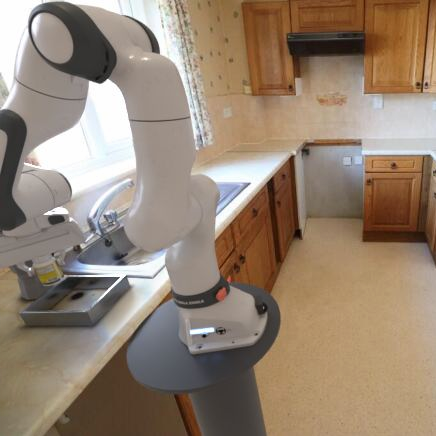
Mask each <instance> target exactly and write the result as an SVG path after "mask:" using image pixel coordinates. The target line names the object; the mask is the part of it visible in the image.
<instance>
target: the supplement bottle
mask: <svg viewBox="0 0 436 436" xmlns="http://www.w3.org/2000/svg"><path fill="white" fill-rule="evenodd" d="M56 259H57V258H56V257H55V256H54V257H52V254H48V255H44V256H41V257H38V258H35V259H32V262H33V268H34V269H35V271H36V273H37V275H38V277H39V279H40V281H41V282H42V284H43V285H44V286H51V285H55V284H57V283H59V282H61V281H62V280H63V279H64V278H65V275H64V273H63V270H62V269H61V266H60V267H59V265H58V263H57V260H56Z"/></svg>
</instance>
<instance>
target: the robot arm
mask: <svg viewBox="0 0 436 436" xmlns="http://www.w3.org/2000/svg"><path fill="white" fill-rule="evenodd" d="M13 67H14V68H13V78H12V83H11V87H10V89H9V90H10V91H9V93H8V95H7V98H6V99H5V101H4V103H3V104H2V106H1V108H0V270H2V269H5V268H9V266H12V265H17V267H18V268H19V269H22V270H24V271H26V272H27V273H28V275H29V276H30V277H31V276H34V275H36V274H37V273H36V271H35V269H34V268H33V267H31V268H29V267H27V266H26V265H25V261H28V260H32V259H35V258H38V257H41V256H44V255H48V254H51V253H54V254H55V253H57V252H58V254H59V257H58V258H56V260H57V263H58V265H59V267H60V268H61V267H63V266H66V265H67V264H66V261H65V257H66V255H67V252H66V250H67V249H70V248H72V247H76V246H79V245H83V244H85V243H86V241H87V236H86V235H85V233H84V231H83V229H82V228H81V226H80V224H79V222H77V221H76V220H75V218H74V217H71V214H70V212H69V211H68V210H67V209H66V208H65V207H63V206H64V205H66V204H67V203H69V202H70V201H71V199H72V196H73V189H72V186H71V185H72V184H71V183H70V181H69V180H68V178H67V177H66V176H65V175H64V174H63V173H61V172H60V171H59V170H56V169H54V168H51V167H41V166H36V165H32V164H30V163H26V160H27V158H28V156H30V154H31V153H32V152H33V151H34V150H35V149H36V148H38V147H39V146H40V145H42V144H44V143H45V142H47V141H49V140H51V139H52V138H55V137H57V136H59V135H61V134H63V133H65V132H67V131H69V130H72V129H73V128H74V127H76V126H77V125H79V123H80V122H81V120H82V118H83V117H84V114H85V112H86V108H87V105H88V99H89V92H90V85H91V84H90V83H91V82H92V83H94V84H98V85H102V84H104V83H105V82H107V81H108V82H110V83H111V84H112V85H114V86H115V87H116V88H117V89H118V91H119V93H120V95H121V98H122V101H123V106H124V110H125V114H126V118H127V123H128V127H129V132H130V136H131V140H132V146H133V151H134V157H135V180H134V181H135V182H134V189H133V195H132V198H131V202H130V205H129V208H128V210H127V211H126V212H125V215H124V217H123V221H122V225H123V227H122V228H123V230H124V233H125V236H126V237H127V239H128V240H129V241H130V243H132V244H133V245H134V246H135V247H137V249H138V248H139V249H140V250H142V251H145V252H149V253H159V252H162V251H164V250H165V249H167V250H166V252H165V256H164V265H165V268H166V272H167V274H168V278H169V282H170V285H171V286H170V291H171V295H172V298H173V300H174V303H175V304H176V305H177V308H178V314H179V338H180V340H181V341H182V342H183V343H184V344H185V345H187V346H188V349H189V352H190V353H191V354H201V353H207V352H214V351H220V350H227V349H233V348H240V347H246V346H252V345H254V344H255V343H256V342H257V341H258V340H259V339H260V338H261V336H262V334H263V333H264V330H265V328H266V324H267V319H268V314H267V309H268V306H267V304H266V303H264V302H262V296H261V295H258V296H254V298H253V296H252V295H250V294H248V293H245V292H243V291H241V290H239V289H237V288H234V287H232V286H230V285H229V283H230V282H231V280H232V278H231V275H228V277H227V279H226V278H225V277H224V275H223V274H222V273H221V272H220V268H219V264H218V258H217V254H216V253H217V252H216V220H217V219H216V218H217V209H218V206H219V202H220V199H221V191H220V188H219V185H218V184H217V182H215V180H214V179H212V178H211V177H210V176H208V175H205V174H202V173H193V174H192V170H193V166H194V163H195V161H196V158H197V148H196V142H195V135H194V134H195V133H194V127H193V122H192V115H191V109H190V104H189V101H188V96H187V93H186V89H185V88H186V87H185V86H184V82H183V79H182V77H181V74H180V71H179V69H178V66H177V65H176V64H175V62H173V61H172V60H171V59H170V58H168V57H167V56H165V55H164V54H163V55H162V54H161V49H160V44H159V41H158V39H157V37H156V35H155V33H154V32H153V30H151V29H150V27H149V26H148V25H147V24H145V23H144V22H142V21H140V20H138V19H137V18H134V17H132V16H130V15H127V14H126V15H125V14H121V13H117V12H114V11H111V10H108V9H105V8H102V7H99V6H93V5H87V4H76V3H72V2H68V1H63V0H62V1H61V0H60V1H56V0H55V1H47V2H43V3H40V4H38V5H36V6H35V7H33V9H32V10H31V12H30V13H29V16H28V20H27V25H26V26H25V28H24V29H23V31H22V34H21V37H20V39H19V42H18V46H17V49H16V54H15V59H14V66H13ZM256 335H257V336H256Z"/></svg>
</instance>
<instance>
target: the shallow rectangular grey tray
mask: <svg viewBox="0 0 436 436" xmlns="http://www.w3.org/2000/svg"><path fill="white" fill-rule="evenodd" d="M130 288H131V283H130V281H129V279H128V276H127V274H88V275H87V274H84V275H82V274H81V275H79V274H78V275H66V276H64V279H63V280H62V281H61V282H59V283H57V284H56V285H54V286H53V287H52V288H50V289H49V290H48V291H47V292H45V293H44V294H43V295H41V296H40V297H39V298H37V299H34V300H32V302H31V303H29V304H28V305H27V306H25V307H24V308H23V309H22V310H20V311H19V312H18V314H19V316H20V318H21V320H22V321H23V324H24V325H25V326H26V327H58V326H59V327H60V326H64V327H68V326H72V327H73V326H74V327H75V326H95V325H96V324H97V322H99V321H100V319H101V318H103V316H104V315H105V314H106V313H107V312H108V311H109V310H110V309H111V308H112V307H113V306H114V305H115V303H116V302H118V300H119V299H120V298H122V296H123V295H124V294H125V293H126V292H127V291H128V290H129V289H130ZM96 289H97V290H98V289H99V290H101V289H103V290H104V289H107V290H106V291H105V292H104V293H103V294H102V295H100V296H99V298H97V299H96V300H95V302H93V303H92V304H91V305H90V306H89V307H88V308H87V309H65V310H64V309H63V310H61V309H58V310H54V309H53V310H50V309H51V308H52V307H54V306H55V305H56V304H57V303H58V302H60V301H61V300H62V299H63V298H64V297H66V296H67V295H68V294H69V293H70V292H72V291H73V290H96ZM83 296H84V292H77V293H74V294H73V295H71V297H70V299H71V300H78V299H81V298H83Z"/></svg>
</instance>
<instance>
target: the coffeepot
mask: <svg viewBox="0 0 436 436" xmlns="http://www.w3.org/2000/svg"><path fill="white" fill-rule="evenodd" d="M51 254H52V257H55V252H54V253H51ZM25 265H26V266H27V267H29V268H31V267H33V262H32V260H28V261H25ZM8 269H9V270H10V271H11V272H12V273H13V274H15V275H16V277H17V283H18V286H19V291H20V295H21V298H23V299H25V300H27V301H35V300H36V299H37V298H39V297H40V296H41V295H43V294H44V293H45V292H47V291H48V290H49V289H50V288H52V287H53V286H54V285H51V286H44V285H43V284H42V282H41V281H40V279H39V277H38V275H37V274H36V275H34V276H31V277H30V276H29V275H28V273H27V272H26V271H24V270H22V269H19V268H18V267H17V265H12V266H9V267H8ZM55 285H56V284H55Z"/></svg>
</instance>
